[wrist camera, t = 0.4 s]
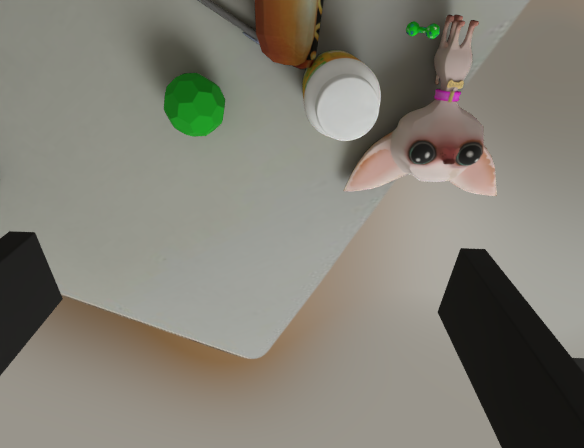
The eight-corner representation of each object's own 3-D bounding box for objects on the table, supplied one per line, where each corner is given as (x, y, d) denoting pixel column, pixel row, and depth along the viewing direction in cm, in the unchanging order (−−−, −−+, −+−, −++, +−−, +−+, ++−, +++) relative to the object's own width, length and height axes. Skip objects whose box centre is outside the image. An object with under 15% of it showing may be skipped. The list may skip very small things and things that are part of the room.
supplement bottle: (312, 40, 28) (320, 51, 20) (374, 60, 29) (405, 78, 21) (295, 106, 31) (294, 139, 23) (351, 122, 32) (371, 160, 23)
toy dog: (622, 29, 20) (521, 229, 29) (552, 14, 27) (487, 184, 36) (367, 28, 21) (345, 223, 30) (357, 14, 27) (342, 179, 36)
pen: (120, -57, 25) (288, 56, 28) (125, -61, 25) (291, 52, 28) (120, -46, 25) (284, 63, 29) (124, -50, 26) (287, 59, 29)
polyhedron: (200, 56, 29) (185, 63, 25) (241, 103, 31) (232, 116, 27) (162, 95, 31) (141, 108, 27) (202, 137, 33) (189, 155, 29)
